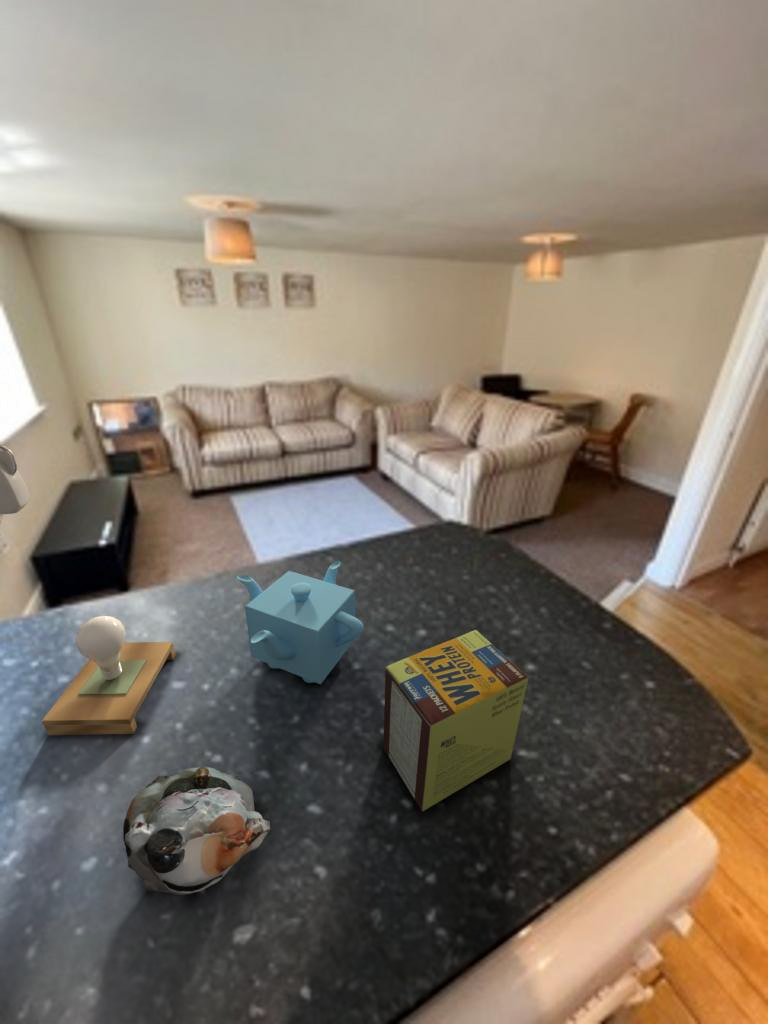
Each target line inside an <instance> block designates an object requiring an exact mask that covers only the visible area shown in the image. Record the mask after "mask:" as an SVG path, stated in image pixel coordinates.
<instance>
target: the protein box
mask: <svg viewBox="0 0 768 1024" xmlns="http://www.w3.org/2000/svg"><path fill="white" fill-rule="evenodd" d="M384 670H385V673H384V675H385V676H384V677H385V678H384V707H383V708H384V709H383V735H382V736H383V737H382V749H383V751H384V753H385V754H386V756H387V758H388V759H389V761H390V762H391V764H392V766H393V767H394V769H395V770H396V772H397V774H398V775H399V778H401V780H402V782H403V783H404V785H405V787H406V788H407V790H408V791H409V793H410V795H411V797H412V798H413V800H414V801H415V803H416V805H417V806H418V807H419V809H420V811H421V812H425V811H426V810H428V809H430V808H431V807H433V806H435V805H436V804H438V803H439V802H441V801H443V800H444V799H446V798H448V797H449V796H452V795H453V794H455V793H457V791H459V790H461V789H463V788H465V787H466V786H468V785H469V784H471V783H473V782H475V781H476V780H478V779H480V778H481V777H483V776H485V775H486V774H488V773H490V772H491V771H493V770H495V769H496V768H498V767H499V766H501V765H503V764H505V763H507V762H508V761H510V760H511V759H512V756H513V751H514V745H515V743H516V741H515V740H516V736H517V733H518V729H519V724H520V718H521V714H522V710H523V706H524V705H523V704H524V700H525V696H526V691H527V686H528V682H529V676H528V675H527V674H526V673H525V672H524V671H523V670H521V669H520V668H519V667H518V666H517V665H516V664H515V663H514V662H513V661H512V660H510V659H509V658H508V657H507V656H506V655H504V653H502V652H501V651H500V650H499V649H498V648H497V647H496V646H495V645H494V644H493V643H491V642H490V641H489V640H488V639H487V638H486V637H485V636H484V635H483V634H482V633H480V632H479V631H478V630H477V629H475V630H472V631H469V632H467V633H465V634H462V635H460V636H458V637H454V638H453V639H450V640H448V641H445V642H442V643H440V644H437V645H435V646H432V647H430V648H427V649H425V650H422V651H421V652H418V653H415V654H413V655H411V656H408V657H405V658H403V659H401V660H398V661H395V662H393V663H391V664H388V665H387V666H385V669H384Z"/></svg>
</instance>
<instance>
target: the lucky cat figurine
mask: <svg viewBox="0 0 768 1024" xmlns="http://www.w3.org/2000/svg"><path fill="white" fill-rule="evenodd" d="M254 799H255V798H254V794H253V790H252V788H251V787H250V786H249V784H247V783H246V782H245V781H242V780H241V777H239V776H238V775H236V776H235V775H231V774H228V773H226V772H221V771H220V770H219V769H218V768H216V769H215V768H214V767H210V766H198V767H197V766H196V767H188V768H185V769H183V770H181V771H179V772H178V773H176V774H174V775H170V776H169V775H168V776H167V775H159V776H157V777H156V778H155V779H154V780H153V781H151V782H150V783H148V784H147V785H146V786H145V787H144V788H142V789H141V790H140V791H139V792H138V793H137V794H136V795H135V796H134V798H133V799H132V800H131V802H130V804H129V806H128V808H127V810H126V814H125V817H124V820H123V821H124V822H123V829H122V833H123V834H122V839H123V843H124V847H125V855H126V858H127V866H128V868H129V869H131V870H132V871H133V872H134V873H135V874H136V876H138V877H139V879H141V881H142V882H143V885H144V886H145V888H146V890H149V891H150V892H152V893H167V894H174V895H178V896H182V895H183V896H184V895H185V896H186V895H190V894H193V893H198V892H199V893H200V892H202V891H203V890H205V889H207V888H209V887H211V886H213V885H215V884H217V883H218V882H220V881H221V880H222V879H223V878H224V877H225V876H226V875H227V874H228V873H229V871H230V870H231V869H232V867H233V866H234V865H236V864H237V863H239V861H240V859H242V857H243V856H245V855H246V854H247V853H250V852H252V851H254V850H256V849H258V848H259V847H260V845H261V844H262V843H263V841H264V839H265V838H266V836H267V835H268V833H269V832H270V830H271V826H270V824H271V823H270V820H266V819H264V818H263V816H262V814H261V813H260V812H258V811H255V800H254Z"/></svg>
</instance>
